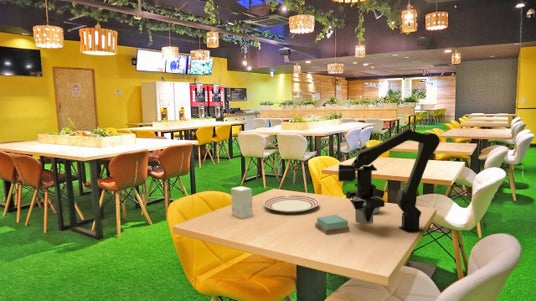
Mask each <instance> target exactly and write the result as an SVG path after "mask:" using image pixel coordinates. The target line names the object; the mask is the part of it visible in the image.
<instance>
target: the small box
mask: <svg viewBox="0 0 536 301" xmlns="http://www.w3.org/2000/svg"><path fill="white" fill-rule="evenodd" d="M230 191H231V194H230V195H231V214H232V216H234V217H237V218H239V219H245V218H249V217H250V218H251V217H253V216H254V215H253V214H254V211H253V190H252V188H251V187H248V186H247V187H246V186H242V185H241V186H236V187H231V188H230Z"/></svg>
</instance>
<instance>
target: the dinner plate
mask: <svg viewBox="0 0 536 301" xmlns="http://www.w3.org/2000/svg"><path fill="white" fill-rule="evenodd" d="M319 205H320V200H318V199H317V198H315V197H313V196H309V195H301V194H285V195H277V196H273V197H270V198H267V199H265V200H264V201H263V206H264V207H265V208H268V209H270V210H272V211H276V212H279V213H283V214H284V213H286V214H289V213H290V214H292V213H293V214H294V213H296V214H297V213H303V212H306V211H310V210H312V209H314V208H316V207H318V206H319Z"/></svg>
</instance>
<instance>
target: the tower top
mask: <svg viewBox="0 0 536 301" xmlns="http://www.w3.org/2000/svg"><path fill="white" fill-rule="evenodd" d="M316 218H317V219H316V220H317V221H316V223H318V224H319V225H321V226H322V227H324V228H325V229H327V230H331V229H338V228H345V227H349V220H347V219H345V218H344V217H342V216H340V215H338V214H333V215H326V216H325V215H324V216H319V217H318V216H317V217H316Z"/></svg>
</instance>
